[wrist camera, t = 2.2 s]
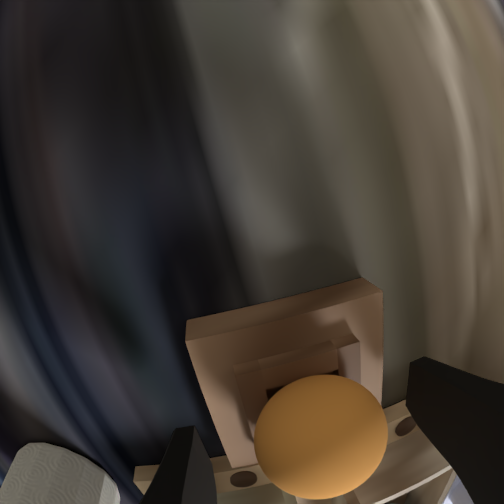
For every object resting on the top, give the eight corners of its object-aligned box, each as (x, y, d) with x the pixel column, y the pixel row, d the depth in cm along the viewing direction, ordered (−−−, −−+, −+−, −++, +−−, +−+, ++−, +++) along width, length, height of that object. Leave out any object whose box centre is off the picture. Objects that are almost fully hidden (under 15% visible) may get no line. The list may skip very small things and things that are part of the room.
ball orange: (354, 335, 10) (421, 409, 6) (356, 419, 11) (401, 490, 7) (233, 369, 9) (253, 467, 6) (256, 448, 11) (278, 533, 7)
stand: (362, 277, 11) (392, 297, 9) (365, 404, 13) (385, 433, 11) (186, 320, 11) (184, 351, 9) (228, 443, 12) (233, 478, 10)
